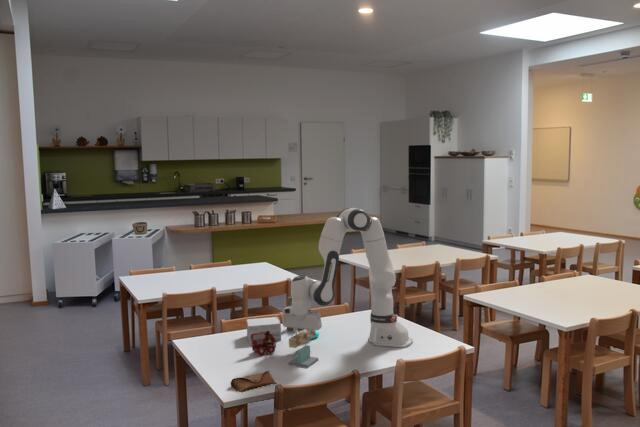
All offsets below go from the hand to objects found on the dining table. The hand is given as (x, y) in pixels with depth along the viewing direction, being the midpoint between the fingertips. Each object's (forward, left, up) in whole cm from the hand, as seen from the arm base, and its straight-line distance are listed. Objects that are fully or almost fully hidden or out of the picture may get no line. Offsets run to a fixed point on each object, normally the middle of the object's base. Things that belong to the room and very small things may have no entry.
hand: (302, 336), depth 280 cm
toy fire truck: (+16, +10, -7) cm, 20 cm away
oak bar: (0, 0, -2) cm, 2 cm away
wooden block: (+20, -30, -7) cm, 36 cm away
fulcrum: (-8, +14, -7) cm, 18 cm away
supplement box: (+28, -9, -7) cm, 30 cm away
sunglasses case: (-2, +46, -7) cm, 46 cm away
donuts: (+7, -20, -7) cm, 22 cm away
